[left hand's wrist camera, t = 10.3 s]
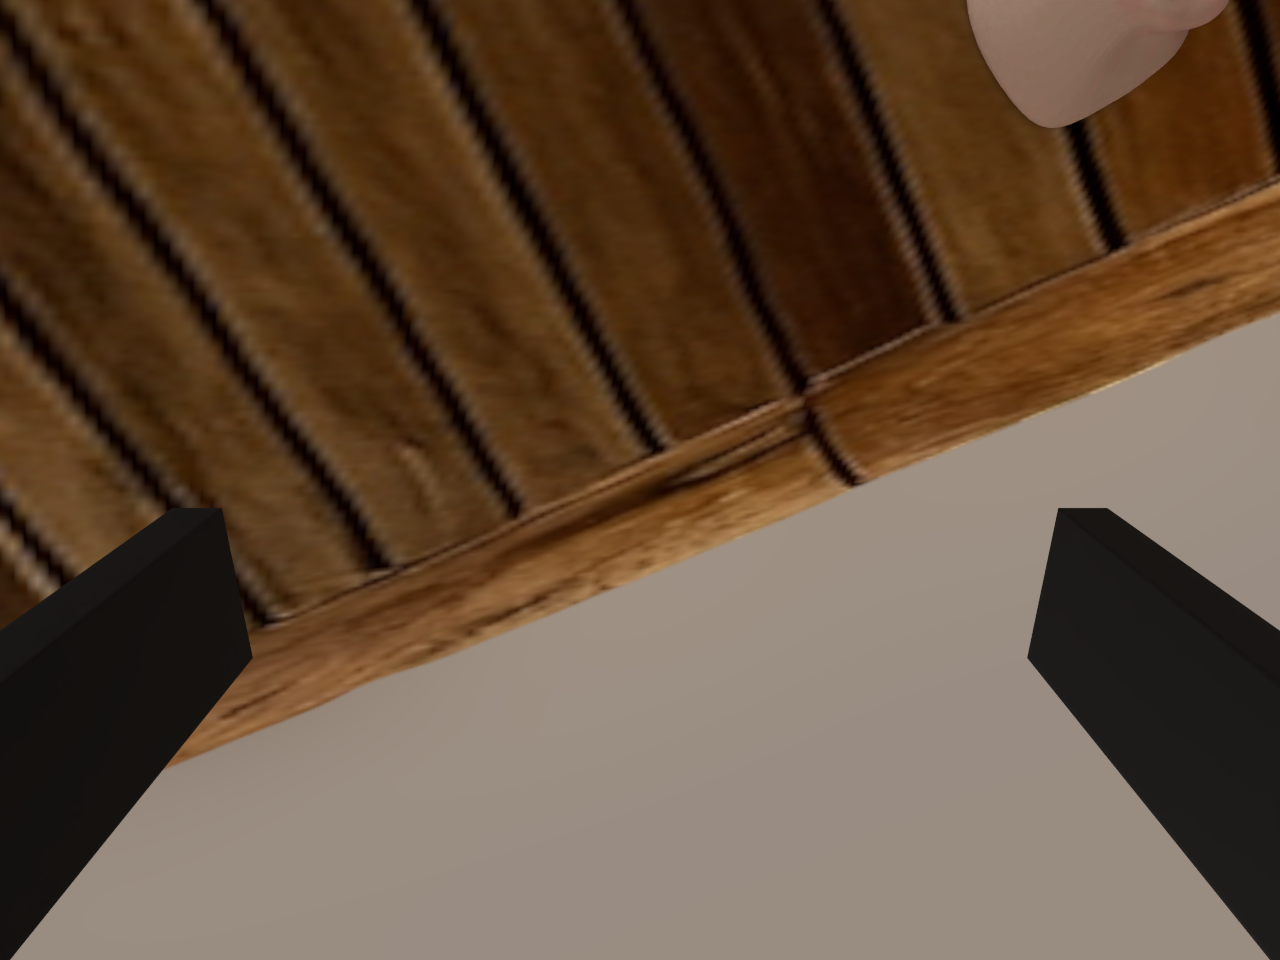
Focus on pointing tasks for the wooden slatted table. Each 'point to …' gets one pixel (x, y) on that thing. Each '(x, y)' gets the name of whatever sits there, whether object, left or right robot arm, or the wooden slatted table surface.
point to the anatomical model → (1080, 49)
